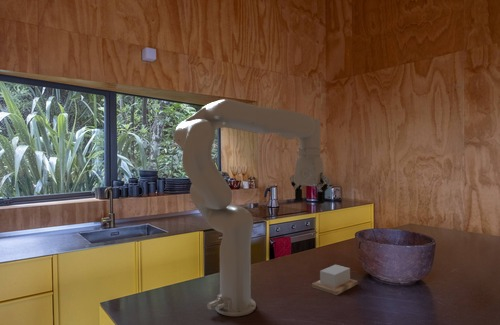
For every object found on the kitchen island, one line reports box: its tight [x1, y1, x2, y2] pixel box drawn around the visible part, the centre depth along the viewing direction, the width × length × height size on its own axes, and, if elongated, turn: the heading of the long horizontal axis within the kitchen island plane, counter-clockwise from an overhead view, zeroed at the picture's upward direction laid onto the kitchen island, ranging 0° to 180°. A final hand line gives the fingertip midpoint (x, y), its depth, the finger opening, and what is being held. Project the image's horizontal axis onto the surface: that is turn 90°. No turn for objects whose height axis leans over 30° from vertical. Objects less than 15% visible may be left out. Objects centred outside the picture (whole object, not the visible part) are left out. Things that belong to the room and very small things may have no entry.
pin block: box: [311, 278, 359, 296], centre depth 124 cm, size 14×10×4 cm
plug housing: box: [319, 264, 351, 288], centre depth 124 cm, size 10×6×4 cm, turn 134°
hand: (309, 201), depth 123 cm, fingers open, 9 cm apart
